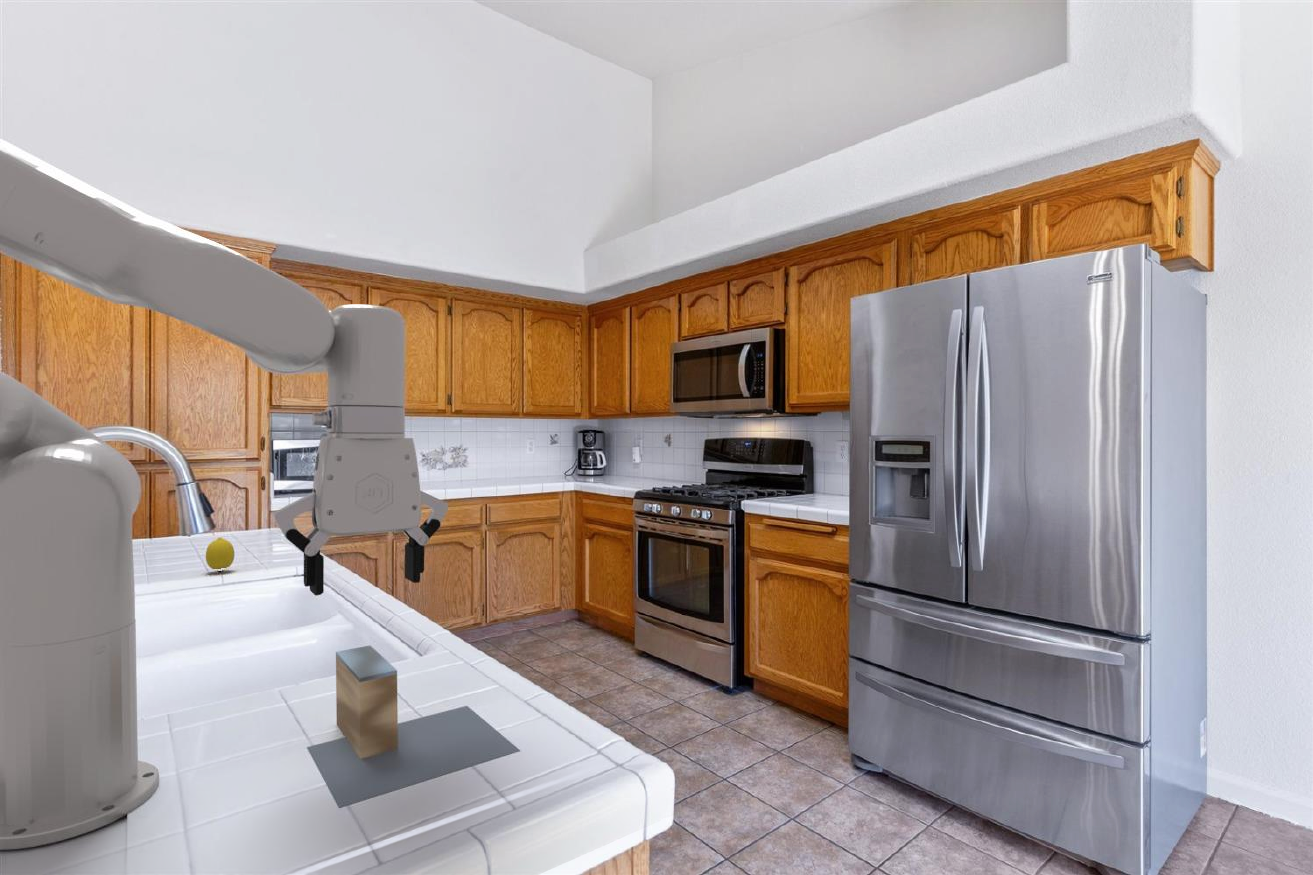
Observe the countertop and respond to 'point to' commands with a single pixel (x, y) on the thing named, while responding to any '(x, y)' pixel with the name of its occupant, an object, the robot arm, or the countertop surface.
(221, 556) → the lemon
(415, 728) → the mat
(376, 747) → the oak slab
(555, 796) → the countertop surface
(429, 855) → the countertop surface
